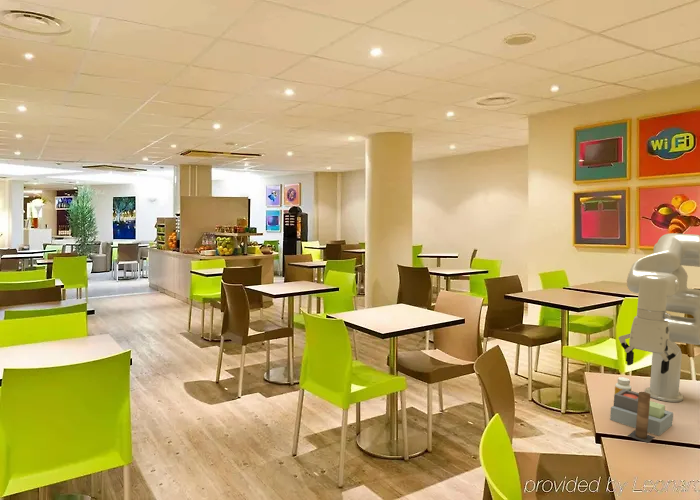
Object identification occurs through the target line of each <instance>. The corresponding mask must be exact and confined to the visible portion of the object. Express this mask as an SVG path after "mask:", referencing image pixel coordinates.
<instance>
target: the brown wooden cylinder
mask: <svg viewBox="0 0 700 500" xmlns="http://www.w3.org/2000/svg"><path fill="white" fill-rule="evenodd" d="M638 393H639V396H638V408H637V420H636V428H635V431H636V433H635V436H636V437H638V438H641V439H646V438H647V435H648V432H647V431H648V419H649V407H650V401H651V397H650V394H649V393H646V392H645V391H639V392H638Z"/></svg>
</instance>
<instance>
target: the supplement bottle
mask: <svg viewBox="0 0 700 500" xmlns="http://www.w3.org/2000/svg"><path fill="white" fill-rule="evenodd" d="M630 383H631V380H630V379H629V378H628V377H623V376H620V377H617V382H616V383H615V385H614V394H616V393H618V392H620V391H621V390H623V389H626V390H629V391H632V386H631V384H630Z"/></svg>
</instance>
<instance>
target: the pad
mask: <svg viewBox="0 0 700 500" xmlns="http://www.w3.org/2000/svg"><path fill="white" fill-rule="evenodd" d="M635 433H636V429H635V430H633V431H631V432H630V433H629V434H628V435H627V437H629V438H632V439H635V440H638V441H641V442H644V443H647V444H648V443H650V442H651V441H653V439H655V436H652V435H649V434H647V438H646V439H641V438H638V437H636V436H635Z"/></svg>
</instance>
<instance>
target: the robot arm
mask: <svg viewBox="0 0 700 500" xmlns="http://www.w3.org/2000/svg"><path fill="white" fill-rule="evenodd" d="M683 266H684V267H683ZM685 266H686V267H696V268H700V235H699V234H692V233H665V234H663V235H661V236H660V237H659V239H658V241H657V242H656V243H655V244H654V246H653V252H652V253H651V254H647V255H646V256H644V257H641V258H639V259H637V260H635V261H634V263H633V264H632V265H631V268H630V269H629V273H628V275H627V279H626V286H627V289H628V290H629V291H630V292H632V293H634V294H638V297H637V298H638V299H637V307H636V308H637V311H636V316H634V318H633V321H632V324H631V328H630V333H627V334H623V335H620V336H618V340H619V343H620V346H621V347H622V348H623V350H624V352H625V353H626V355H625V361H626V365H627V366H631V365H633V364H634V358H635V353H634V352H635V351H634V349H635V350H639V351H645V352H647V353H649V352H650V353H652V355H651V368H650V369H651V370H650V379H649V380H650V381H649V382H650V383H649V387H646V388H644V392H646V393H649V394H650V398H653V399H654V400H659V401H664V402H669V403H678V402H682V401H683V400H684V395H682V393H680V383H681V379H680V378H681V369H682V358H683V353H682V351H681V350H682V349H681V347H680V346H678V344H677V343H682V344H687V345H688V344H689V345H693V346H696V345H697V346H700V289H697V288H688V278H689V276H688V273H687V271H686V270H685ZM667 312H671V313H677V314H678V313H679V314H684V315H691V316H692V317H693V318H692V317H685V316H679V315H672V314H671V313H667ZM626 339H629V341H628V343H627V341H626Z"/></svg>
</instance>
